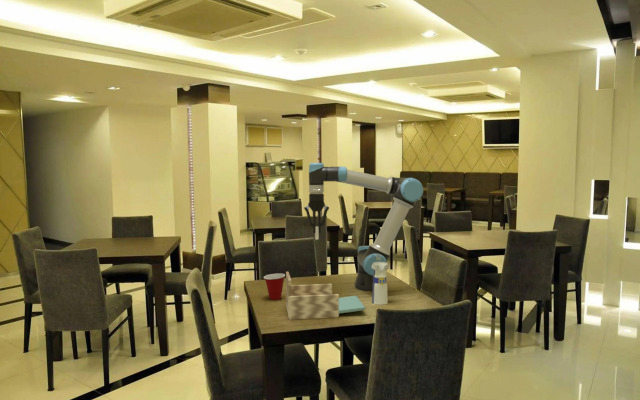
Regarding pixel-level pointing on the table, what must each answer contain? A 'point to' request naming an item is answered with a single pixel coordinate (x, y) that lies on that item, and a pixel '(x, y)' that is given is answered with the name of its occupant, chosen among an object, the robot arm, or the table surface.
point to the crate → (310, 301)
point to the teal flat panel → (350, 304)
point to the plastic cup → (274, 285)
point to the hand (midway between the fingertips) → (316, 239)
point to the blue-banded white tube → (379, 282)
